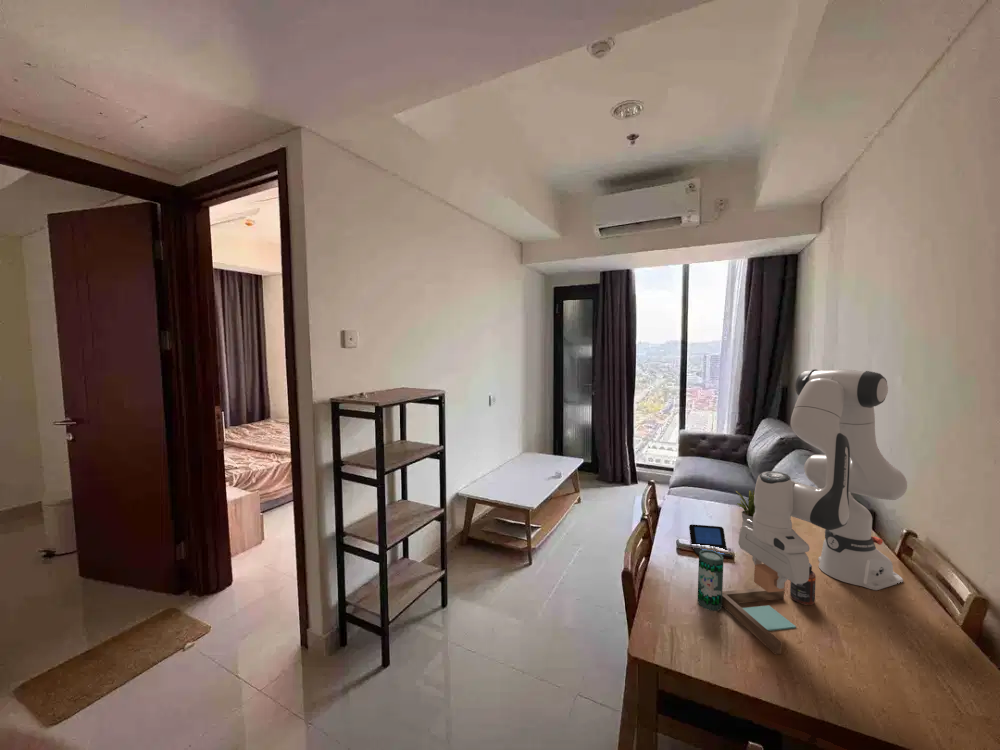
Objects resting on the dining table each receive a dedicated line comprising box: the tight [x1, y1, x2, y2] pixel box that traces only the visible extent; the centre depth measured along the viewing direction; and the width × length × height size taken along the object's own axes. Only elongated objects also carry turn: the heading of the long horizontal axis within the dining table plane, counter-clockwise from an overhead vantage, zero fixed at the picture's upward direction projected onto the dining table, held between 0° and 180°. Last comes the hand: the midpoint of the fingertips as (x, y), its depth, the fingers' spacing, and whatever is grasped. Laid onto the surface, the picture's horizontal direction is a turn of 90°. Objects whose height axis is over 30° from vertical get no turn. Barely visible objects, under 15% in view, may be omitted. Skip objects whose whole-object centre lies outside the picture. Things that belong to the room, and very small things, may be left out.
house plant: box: [735, 490, 755, 522], centre depth 165 cm, size 14×14×16 cm
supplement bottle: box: [789, 562, 817, 606], centre depth 119 cm, size 6×6×11 cm
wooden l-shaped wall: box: [722, 587, 785, 655], centre depth 109 cm, size 21×21×3 cm
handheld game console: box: [688, 523, 734, 559], centre depth 148 cm, size 12×11×7 cm
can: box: [696, 550, 725, 612], centre depth 116 cm, size 6×6×15 cm
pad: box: [742, 604, 797, 632], centre depth 111 cm, size 9×9×1 cm
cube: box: [753, 563, 786, 592], centre depth 110 cm, size 5×5×5 cm
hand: (769, 580), depth 110 cm, fingers closed on cube, 5 cm apart
